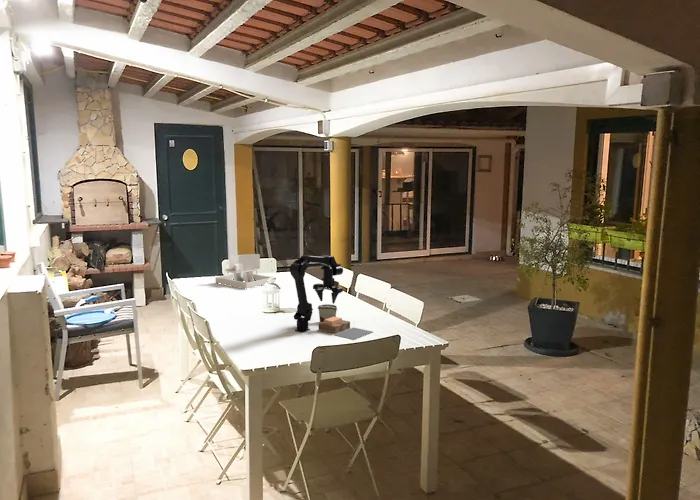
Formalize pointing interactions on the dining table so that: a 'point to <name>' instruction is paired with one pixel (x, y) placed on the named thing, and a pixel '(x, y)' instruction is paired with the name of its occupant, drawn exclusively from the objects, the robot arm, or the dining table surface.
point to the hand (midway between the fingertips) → (327, 302)
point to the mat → (353, 333)
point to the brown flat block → (334, 327)
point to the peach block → (333, 320)
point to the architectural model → (244, 266)
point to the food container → (326, 311)
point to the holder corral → (228, 281)
